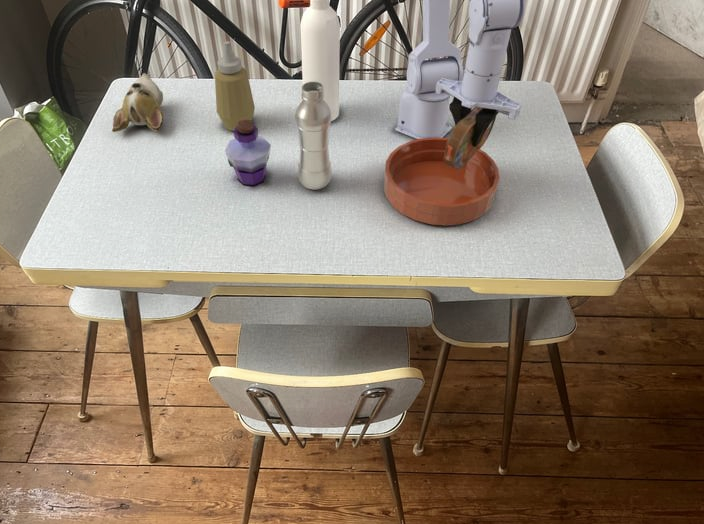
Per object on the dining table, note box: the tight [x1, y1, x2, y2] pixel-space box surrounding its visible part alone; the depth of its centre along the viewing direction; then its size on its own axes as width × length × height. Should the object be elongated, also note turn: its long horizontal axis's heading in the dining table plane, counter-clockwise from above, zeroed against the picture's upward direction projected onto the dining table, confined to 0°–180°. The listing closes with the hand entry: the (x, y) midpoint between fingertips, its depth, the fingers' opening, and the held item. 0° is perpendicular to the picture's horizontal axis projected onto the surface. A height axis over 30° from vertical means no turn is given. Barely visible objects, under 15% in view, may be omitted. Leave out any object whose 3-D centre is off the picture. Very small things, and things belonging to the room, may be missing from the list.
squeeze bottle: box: [214, 40, 255, 132], centre depth 117 cm, size 8×8×18 cm
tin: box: [443, 107, 497, 170], centre depth 101 cm, size 15×3×8 cm, turn 142°
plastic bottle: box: [294, 81, 333, 191], centre depth 103 cm, size 6×7×20 cm
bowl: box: [383, 137, 500, 226], centre depth 106 cm, size 20×20×5 cm
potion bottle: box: [224, 119, 272, 187], centre depth 107 cm, size 9×9×12 cm
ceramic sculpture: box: [111, 72, 164, 133], centre depth 122 cm, size 11×9×15 cm
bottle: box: [299, 0, 341, 122], centre depth 115 cm, size 8×8×30 cm
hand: (468, 140), depth 101 cm, fingers closed on tin, 2 cm apart
